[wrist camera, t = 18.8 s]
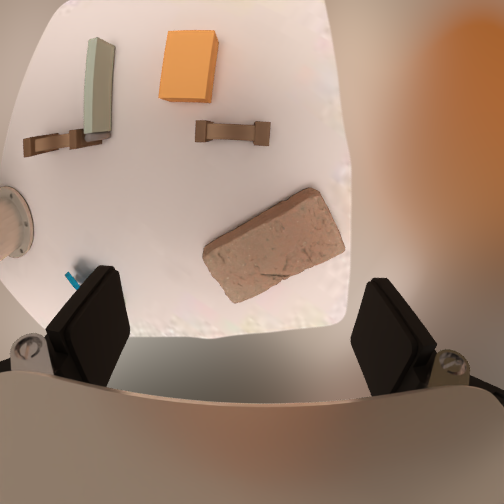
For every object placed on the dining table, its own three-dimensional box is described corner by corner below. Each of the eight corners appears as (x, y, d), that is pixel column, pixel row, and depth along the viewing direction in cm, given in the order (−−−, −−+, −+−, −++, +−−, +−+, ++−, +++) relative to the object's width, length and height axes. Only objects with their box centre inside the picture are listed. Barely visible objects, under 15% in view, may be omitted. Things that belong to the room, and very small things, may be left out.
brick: (234, 291, 41) (233, 310, 37) (201, 245, 38) (196, 261, 34) (338, 236, 38) (349, 250, 34) (312, 182, 35) (321, 190, 31)
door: (111, 138, 31) (92, 141, 26) (95, 140, 31) (75, 143, 26) (114, 46, 26) (97, 37, 21) (98, 50, 26) (80, 42, 21)
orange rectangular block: (170, 101, 30) (158, 97, 25) (178, 43, 27) (168, 31, 22) (210, 102, 30) (205, 98, 26) (218, 43, 27) (214, 30, 23)
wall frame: (51, 150, 31) (23, 157, 25) (51, 134, 30) (23, 139, 24) (264, 143, 32) (268, 146, 26) (266, 123, 31) (270, 122, 26)
